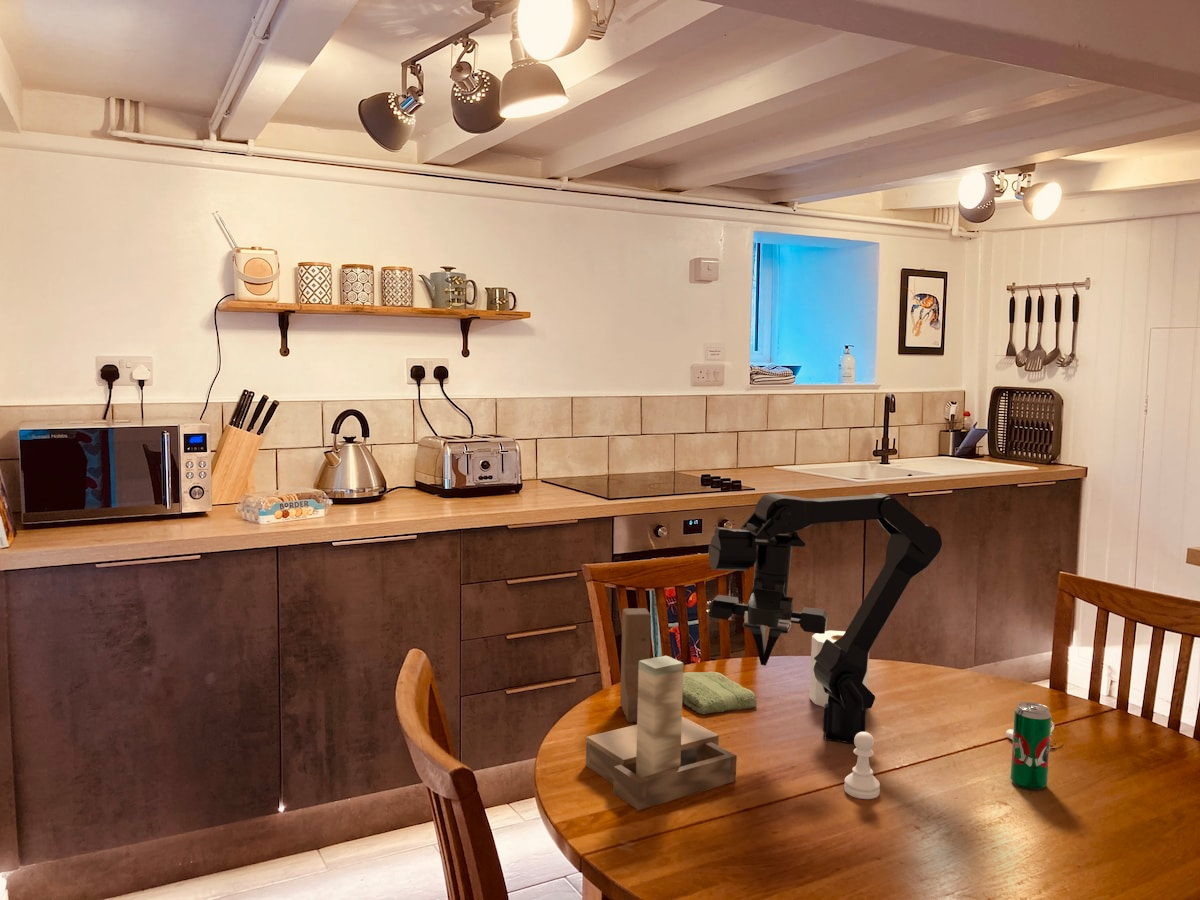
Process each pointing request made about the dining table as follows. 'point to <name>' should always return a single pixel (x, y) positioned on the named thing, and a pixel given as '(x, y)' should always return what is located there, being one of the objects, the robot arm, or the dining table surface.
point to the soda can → (1031, 746)
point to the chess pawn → (862, 770)
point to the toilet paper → (817, 642)
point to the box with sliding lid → (696, 773)
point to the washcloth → (714, 693)
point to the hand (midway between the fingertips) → (763, 664)
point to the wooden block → (633, 656)
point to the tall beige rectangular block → (659, 715)
